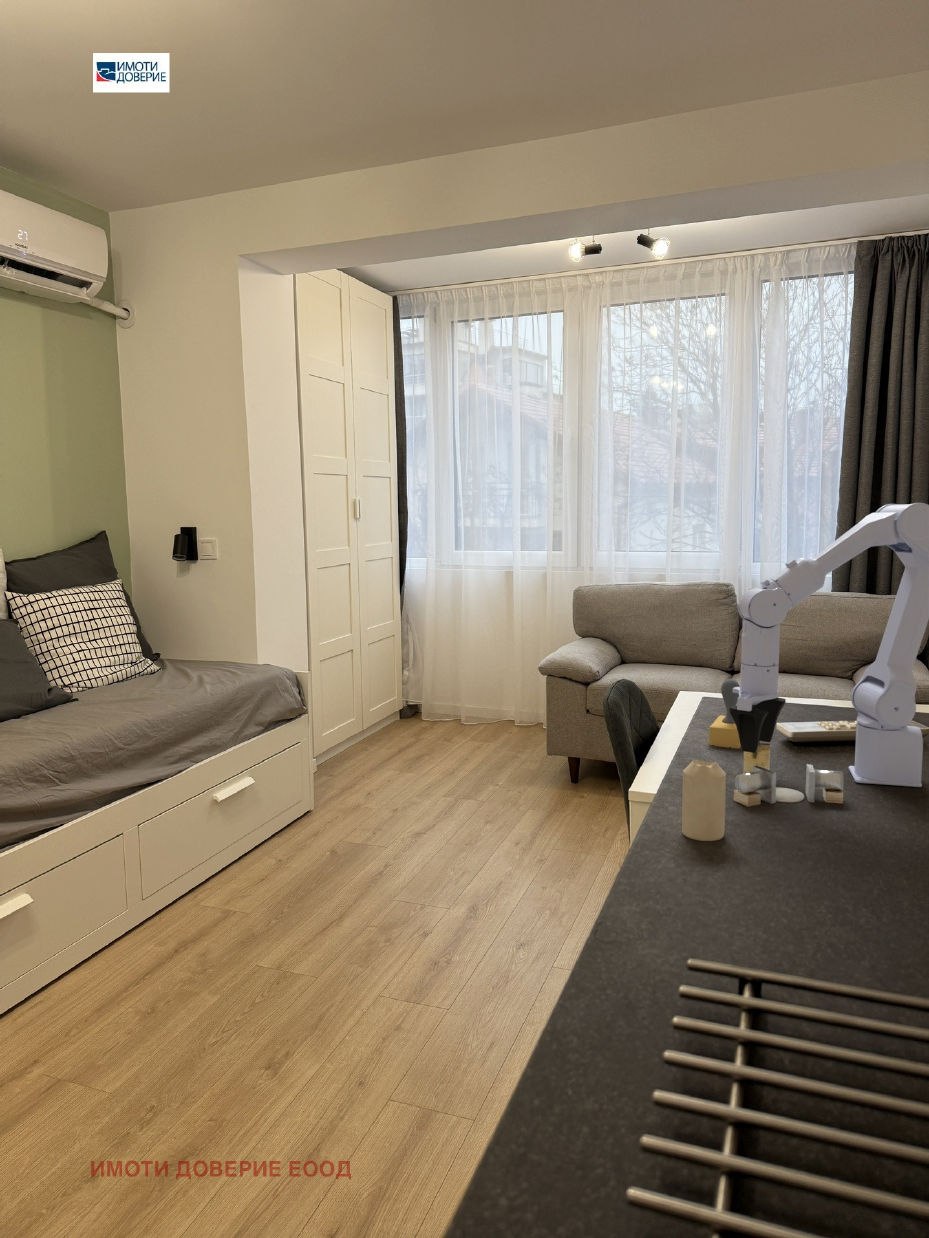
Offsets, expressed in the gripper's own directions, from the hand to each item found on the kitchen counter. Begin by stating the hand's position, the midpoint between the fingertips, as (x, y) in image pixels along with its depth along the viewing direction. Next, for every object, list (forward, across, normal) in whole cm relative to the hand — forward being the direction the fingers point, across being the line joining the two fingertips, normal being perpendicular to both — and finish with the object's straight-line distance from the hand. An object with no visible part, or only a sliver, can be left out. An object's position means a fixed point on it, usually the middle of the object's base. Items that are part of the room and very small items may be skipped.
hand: (756, 746), depth 134 cm
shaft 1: (+5, +11, +3) cm, 13 cm away
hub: (+5, 0, 0) cm, 5 cm away
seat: (+5, +6, +6) cm, 10 cm away
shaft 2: (+5, +4, +12) cm, 13 cm away
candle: (+6, +28, +2) cm, 29 cm away
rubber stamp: (+6, -20, -11) cm, 24 cm away
